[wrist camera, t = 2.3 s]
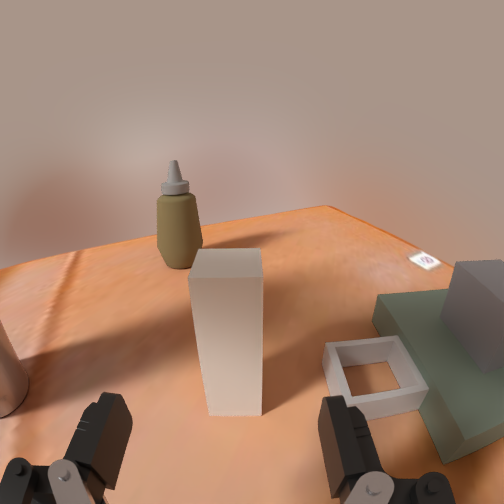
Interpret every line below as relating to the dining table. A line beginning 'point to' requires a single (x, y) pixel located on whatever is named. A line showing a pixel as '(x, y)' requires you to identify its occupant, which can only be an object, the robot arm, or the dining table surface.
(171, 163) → the squeeze bottle
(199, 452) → the dining table surface
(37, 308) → the dining table surface
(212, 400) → the tall white pillar block
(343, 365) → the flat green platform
